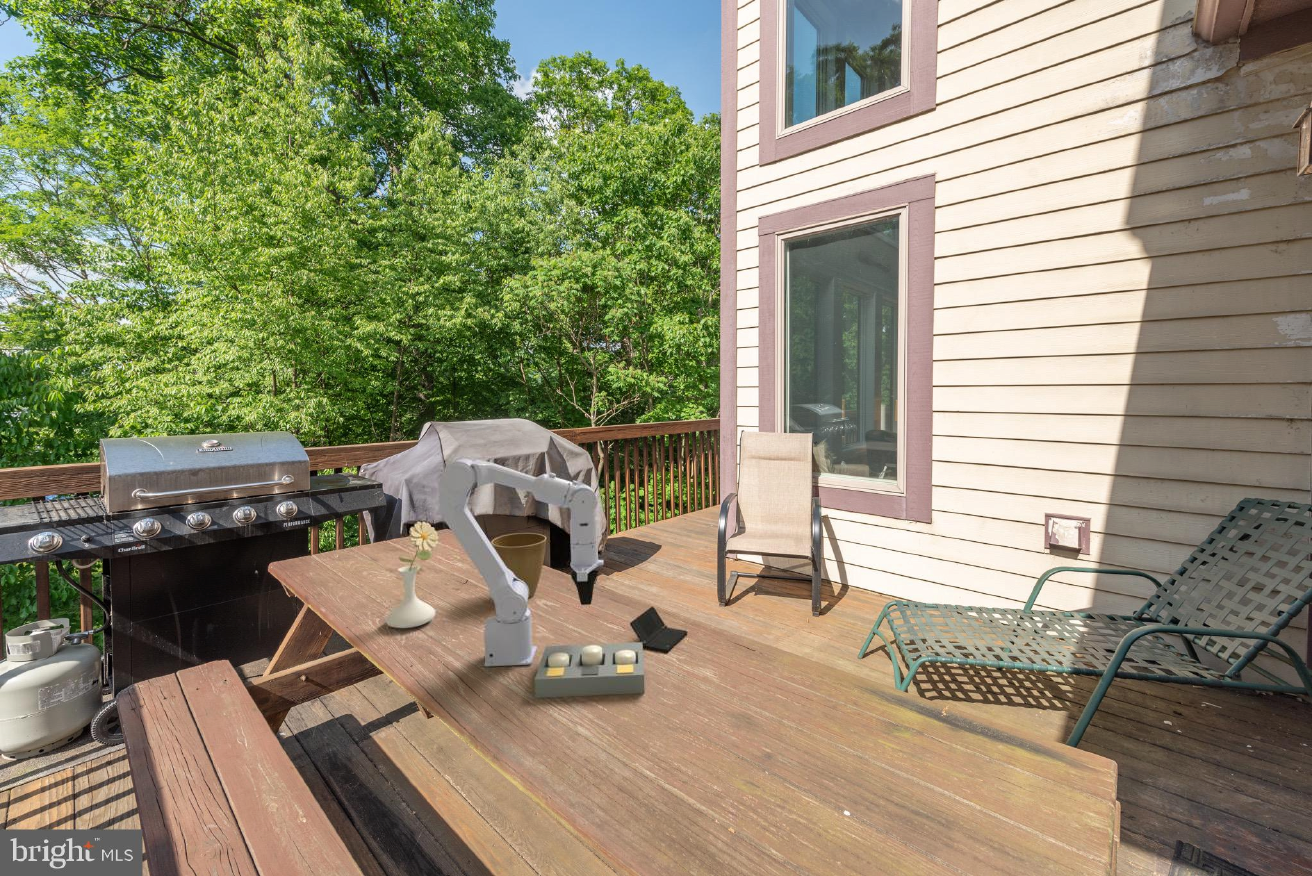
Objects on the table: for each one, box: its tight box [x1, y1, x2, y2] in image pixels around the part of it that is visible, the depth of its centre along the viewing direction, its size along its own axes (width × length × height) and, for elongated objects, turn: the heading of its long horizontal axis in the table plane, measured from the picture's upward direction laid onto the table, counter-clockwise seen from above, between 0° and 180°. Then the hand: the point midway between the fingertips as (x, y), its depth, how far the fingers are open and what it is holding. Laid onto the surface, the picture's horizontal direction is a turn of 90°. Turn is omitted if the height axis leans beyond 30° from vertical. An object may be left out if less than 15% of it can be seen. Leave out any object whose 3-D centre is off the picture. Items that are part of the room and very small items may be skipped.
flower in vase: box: [385, 521, 439, 629], centre depth 140 cm, size 13×11×25 cm
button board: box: [534, 641, 646, 699], centre depth 111 cm, size 20×14×4 cm
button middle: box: [581, 645, 602, 666], centre depth 111 cm, size 4×4×3 cm
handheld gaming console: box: [629, 606, 688, 654], centre depth 128 cm, size 12×7×10 cm
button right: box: [615, 650, 636, 665], centre depth 111 cm, size 4×4×3 cm
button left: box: [548, 653, 569, 667], centre depth 111 cm, size 4×4×3 cm
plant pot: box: [490, 532, 547, 599], centre depth 159 cm, size 15×15×16 cm
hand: (586, 603), depth 122 cm, fingers closed
